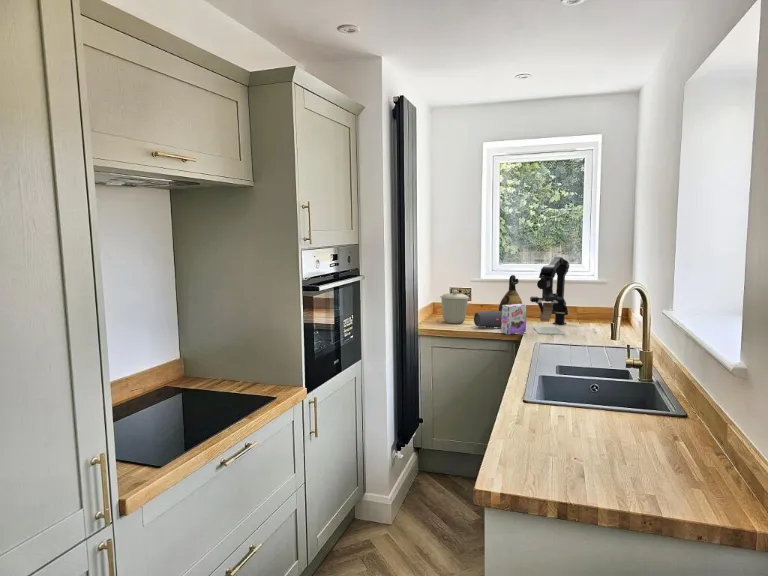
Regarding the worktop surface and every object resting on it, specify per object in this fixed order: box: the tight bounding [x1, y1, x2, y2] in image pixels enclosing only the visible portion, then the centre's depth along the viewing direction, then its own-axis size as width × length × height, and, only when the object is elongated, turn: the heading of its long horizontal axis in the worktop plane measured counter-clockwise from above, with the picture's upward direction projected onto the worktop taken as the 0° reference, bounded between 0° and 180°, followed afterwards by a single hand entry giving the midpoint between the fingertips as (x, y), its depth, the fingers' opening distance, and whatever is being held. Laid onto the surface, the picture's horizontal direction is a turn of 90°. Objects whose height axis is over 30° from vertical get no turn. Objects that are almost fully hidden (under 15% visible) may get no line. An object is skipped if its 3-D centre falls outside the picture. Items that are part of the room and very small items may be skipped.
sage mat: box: [531, 325, 565, 336], centre depth 310 cm, size 22×14×1 cm, turn 174°
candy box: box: [500, 304, 527, 335], centre depth 302 cm, size 14×6×16 cm, turn 117°
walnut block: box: [539, 302, 553, 323], centre depth 313 cm, size 4×5×13 cm
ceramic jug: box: [498, 274, 524, 311], centre depth 341 cm, size 17×15×30 cm
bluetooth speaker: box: [473, 310, 502, 329], centre depth 319 cm, size 23×9×10 cm, turn 106°
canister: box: [439, 289, 470, 325], centre depth 335 cm, size 18×18×21 cm
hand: (546, 313), depth 312 cm, fingers closed on walnut block, 5 cm apart
